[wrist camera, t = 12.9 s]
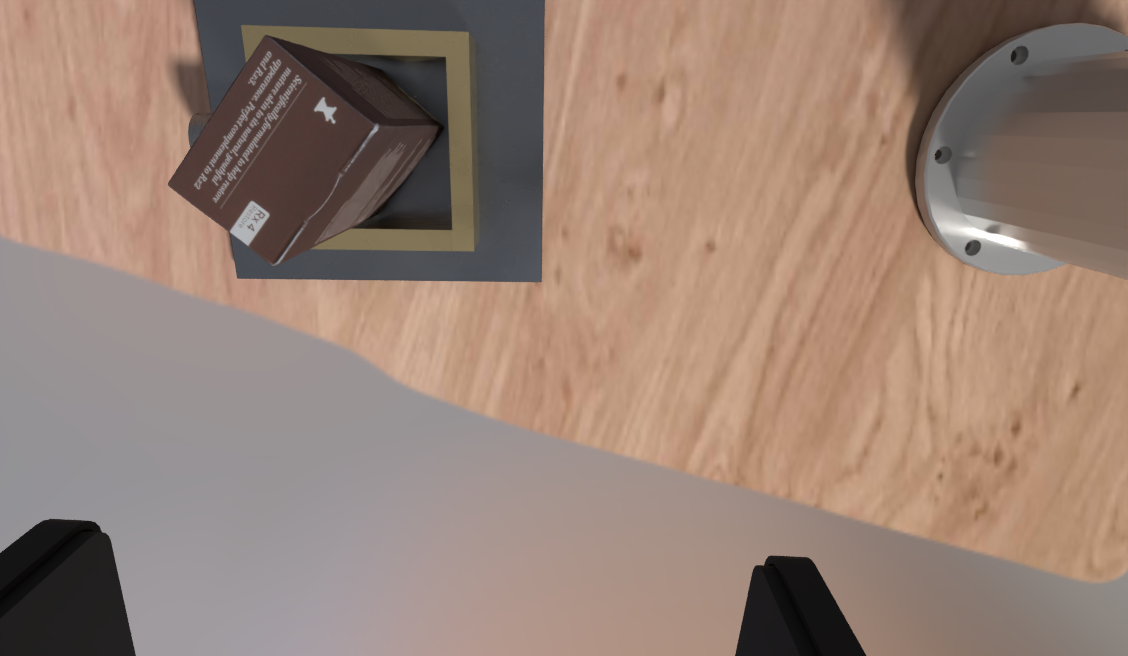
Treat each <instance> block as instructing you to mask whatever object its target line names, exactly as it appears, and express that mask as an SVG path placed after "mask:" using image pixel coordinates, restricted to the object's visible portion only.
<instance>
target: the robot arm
mask: <svg viewBox="0 0 1128 656" xmlns="http://www.w3.org/2000/svg"><path fill="white" fill-rule="evenodd" d="M935 153H936V156H935ZM915 186H916V194H917V202H918V207H919V209H920V212H921V215H922V218H923V221H924V224H925V226H926V227H927V229H928V230H929V232H930V234H931V235H932V237H933V238H934V240H935V241H936V242H937V243H938V244H939V245H940V246H941V247H942V248H943V249H944V250H945V251H946V252H947V253H948V254H949V255H951V256H952V257H954V258H956V259H957V260H959V261H961V262H962V263H964V264H966V265H969V266H972V267H975V268H977V269H980V270H982V271H986V272H991V273H996V274H1000V275H1029V274H1035V273H1041V272H1046V271H1049V270H1052V269H1055V268H1058V267H1060V266H1063V265H1066V264H1072V265H1075V266H1079V267H1082V268H1086V269H1090V270H1093V271H1097V272H1101V273H1104V274H1108V275H1112V276H1115V277H1119V278H1122V279H1126V280H1128V37H1127V36H1126V35H1125V34H1122V33H1120V32H1117V31H1115V30H1113V29H1110V28H1108V27H1105V26H1100V25H1093V24H1087V23H1071V24H1058V25H1052V26H1047V27H1043V28H1038V29H1033V30H1030V31H1027V32H1025V33H1022V34H1019V35H1017V36H1014V37H1012V38H1009V39H1007V40H1005V41H1004V42H1002V43H1000V44H999V45H997V46H995V47H994V48H992V49H990V50H988V51H987V52H985V53H984V54H983V55H982V56H980V57H979V58H978V59H977V60H976V61H974V62H973V63H972V64H971V65H970V66H969V67H967V68H966V69H965V70H964V71H963V72H962V73H961V75H960V76H959V77H958V78H957V79H956V80H955V81H954V83H953V84H952V85H951V86H950V87H949V88H948V89H947V91H946V92H945V94H944V95H943V97H942V99H941V100H940V102H939V103H938V105H937V107H936V108H935V110H934V111H933V113H932V115H931V118H930V120H929V122H928V125H927V127H926V129H925V132H924V134H923V136H922V140H921V144H920V148H919V153H918V157H917V162H916V177H915ZM0 656H136V655H135V650H134V646H133V641H132V637H131V632H130V627H129V623H128V618H127V613H126V609H125V604H124V600H123V595H122V591H121V586H120V581H119V577H118V572H117V568H116V563H115V558H114V554H113V549H112V544H111V540H110V538H109V536H108V535H107V534H106V533H102V532H101V529H100V527H99V526H98V525H97V524H96V523H95V522H92V521H81V520H61V519H49V520H44V521H42V522H40V523H39V524H37V525H35V526H34V527H33V528H32V529H30V530H29V531H28V532H27V533H25V534H24V535H23V536H21V537H20V538H19V539H18V540H16V541H15V542H14V543H12V544H11V545H10V546H9V547H8V548H6V549H5V550H4V551H2V552H1V553H0ZM735 656H866V654H865V653H864V651H863V649H862V647H861V645H860V644H859V642H858V640H857V638H856V637H855V635H854V633H853V631H852V629H851V628H850V626H849V624H848V622H847V621H846V619H845V617H844V615H843V614H842V612H841V610H840V609H839V607H838V605H837V603H836V601H835V599H834V598H833V596H832V594H831V592H830V591H829V589H828V587H827V585H826V583H825V582H824V580H823V578H822V576H821V575H820V573H819V571H818V569H817V568H816V566H815V564H814V563H813V561H812V560H811V559H809V558H807V557H790V556H769V557H768V558H767V559H766V561H765V564H764V566H762V565H757V566H755V567H754V569H753V573H752V577H751V582H750V587H749V591H748V597H747V601H746V606H745V611H744V616H743V621H742V625H741V631H740V635H739V640H738V645H737V650H736V654H735Z"/></svg>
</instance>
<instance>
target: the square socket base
mask: <svg viewBox="0 0 1128 656" xmlns="http://www.w3.org/2000/svg"><path fill="white" fill-rule="evenodd" d="M194 3H195V10H196V16H197V22H198V29H199V35H200V42H201V48H202V55H203V61H204V67H205V74H206V80H207V87H208V93H209V100H210V106H211V113H196V114H195V115H193V116H192V118H191V120H190V123H189V130H188V135H189V143H190V147H192V145H193V144H194V142H195V141H196V139H197V138H198V136H199V134H200V133H201V131H202V130H203V128H204V127H205V125H206V124H207V122H208V121H209V119H210V117H211V116H212V114H213V113H214V111H215V110H216V108H217V107H218V105H219V104H220V102H221V100H222V99H223V97H224V95H225V94H226V92H227V91H228V89H229V88H230V86H231V84H232V83H233V82H234V80H235V79H236V77H237V76H238V74H239V73H240V71H241V70H242V68H243V67H244V65H245V64H246V63H247V61H248V60H249V58H250V57H251V55H252V54H253V52H254V51H255V49H256V48H257V46H258V45H259V43H260V42H261V40H262V39H263V37H264V36H265V35H269V36H272V37H276V38H279V39H283V40H286V41H289V42H292V43H296V44H300V45H303V46H306V47H308V48H312V49H315V50H319V51H322V52H326V53H329V54H333V55H336V56H339V57H343V58H346V59H349V60H352V61H355V62H359V63H362V64H365V65H368V66H372V67H375V68H379V69H380V71H382V72H383V73H384V74H385V75H387V76H388V77H389V78H390V79H391V80H392V81H393V82H394V83H395V84H397V85H398V86H399V87H400V88H401V89H402V90H404V91H405V92H406V93H407V94H408V95H409V96H411V97H412V98H413V99H415V100H416V101H417V102H418V103H419V104H420V105H421V106H422V107H423V108H425V109H426V110H427V111H428V112H429V113H431V114H432V115H433V116H434V117H435V118H436V119H437V120H438V121H439V122H440V123H441V124H442V125H443V126H444V129H443V131H442V132H441V133H440V135H439V136H438V138H437V139H436V141H435V142H434V143H433V144H432V146H431V147H430V148H429V150H428V151H427V152H426V154H425V155H424V156H423V158H422V159H421V160H420V162H419V163H418V164H417V166H416V167H415V168H414V169H413V171H412V172H411V173H410V175H409V176H408V177H407V179H406V180H405V181H404V182H403V184H402V185H401V186H400V187H399V189H398V190H397V191H396V193H395V194H394V195H393V197H392V198H391V199H390V200H389V202H388V203H387V204H386V205H385V207H384V208H383V209H382V210H381V211H380V213H379V214H378V215H376V216H374V217H372V218H370V219H368V220H366V221H364V222H362V223H360V224H359V225H357V226H354V227H352V228H350V229H349V230H347V231H345V232H343V233H341V234H339V235H337V236H335V237H333V238H331V239H329V240H327V241H325V242H323V243H321V244H319V245H317V246H315V247H313V248H311V249H309V250H307V251H305V252H303V253H301V254H299V255H297V256H295V257H293V258H291V259H289V260H287V261H285V262H283V263H281V264H279V265H276V266H271V265H270V264H269V263H268V262H266V261H265V260H264V259H263V258H261V257H260V256H259V255H258V254H256V253H255V252H254V251H253V250H251V249H250V248H249V247H248V246H246V245H245V244H244V243H243V242H241V241H240V240H239V239H237V238H236V237H235V236H234V235H232V234H231V233H230V235H231V241H232V248H233V254H234V261H235V267H236V273H237V278H239V279H324V280H409V281H494V282H542V198H543V106H544V15H545V0H194Z"/></svg>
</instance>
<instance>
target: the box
mask: <svg viewBox="0 0 1128 656" xmlns="http://www.w3.org/2000/svg"><path fill="white" fill-rule="evenodd" d="M443 129H444V126H443V125H442V124H441V123H440V122H439V121H438V120H437V119H436V118H435V117H434V116H433V115H432V114H431V113H429V112H428V111H427V110H426V109H425V108H423V107H422V106H421V105H420V104H419V103H418V102H417V101H416V100H415V99H413V98H412V97H411V96H409V95H408V94H407V93H406V92H405V91H404V90H402V89H401V88H400V87H399V86H398V85H397V84H395V83H394V82H393V81H392V80H391V79H390V78H389V77H388V76H387V75H385V74H384V73H383V72H382V71H380V69H379V68H375V67H372V66H368V65H365V64H362V63H359V62H355V61H352V60H349V59H346V58H343V57H339V56H336V55H333V54H329V53H326V52H322V51H319V50H315V49H312V48H308V47H306V46H303V45H300V44H296V43H292V42H289V41H286V40H283V39H279V38H276V37H272V36H269V35H265V36H264V37H263V39H262V40H261V42H260V43H259V45H258V46H257V48H256V49H255V51H254V52H253V54H252V55H251V57H250V58H249V60H248V61H247V63H246V64H245V65H244V67H243V68H242V70H241V71H240V73H239V74H238V76H237V77H236V79H235V80H234V82H233V83H232V84H231V86H230V88H229V89H228V91H227V92H226V94H225V95H224V97H223V99H222V100H221V102H220V104H219V105H218V107H217V108H216V110H215V111H214V113H213V114H212V116H211V117H210V119H209V121H208V122H207V124H206V125H205V127H204V128H203V130H202V131H201V133H200V134H199V136H198V138H197V139H196V141H195V142H194V144H193V145H192V147H191V148H190V150H189V151H188V153H187V155H186V156H185V158H184V160H183V161H182V163H181V164H180V165H179V167H178V169H177V170H176V172H175V174H174V175H173V177H172V178H171V180H170V181H169V183H168V186H169V187H170V188H172V189H173V190H174V191H176V192H177V193H178V194H179V195H181V196H182V197H183V198H185V199H186V200H187V201H188V202H190V203H191V204H192V205H194V206H195V207H196V208H198V209H199V210H200V211H202V212H203V213H204V214H206V215H207V216H208V217H210V218H211V219H212V220H214V221H215V222H216V223H218V224H219V225H220V226H222V227H223V228H225V229H226V230H227V231H229V232H230V233H231V234H232V235H234V236H235V237H236V238H237V239H239V240H240V241H241V242H243V243H244V244H245V245H246V246H248V247H249V248H250V249H251V250H253V251H254V252H255V253H256V254H258V255H259V256H260V257H261V258H263V259H264V260H265V261H266V262H268V263H269V264H270V265H271V266H276V265H279V264H281V263H283V262H285V261H287V260H289V259H291V258H293V257H295V256H297V255H299V254H301V253H303V252H305V251H307V250H309V249H311V248H313V247H315V246H317V245H319V244H321V243H323V242H325V241H327V240H329V239H331V238H333V237H335V236H337V235H339V234H341V233H343V232H345V231H347V230H349V229H350V228H352V227H354V226H357V225H359V224H360V223H362V222H364V221H366V220H368V219H370V218H372V217H374V216H376V215H378V214H379V213H380V211H381V210H382V209H383V208H384V207H385V205H386V204H387V203H388V202H389V200H390V199H391V198H392V197H393V195H394V194H395V193H396V191H397V190H398V189H399V187H400V186H401V185H402V184H403V182H404V181H405V180H406V179H407V177H408V176H409V175H410V173H411V172H412V171H413V169H414V168H415V167H416V166H417V164H418V163H419V162H420V160H421V159H422V158H423V156H424V155H425V154H426V152H427V151H428V150H429V148H430V147H431V146H432V144H433V143H434V142H435V141H436V139H437V138H438V136H439V135H440V133H441V132H442V131H443Z"/></svg>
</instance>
